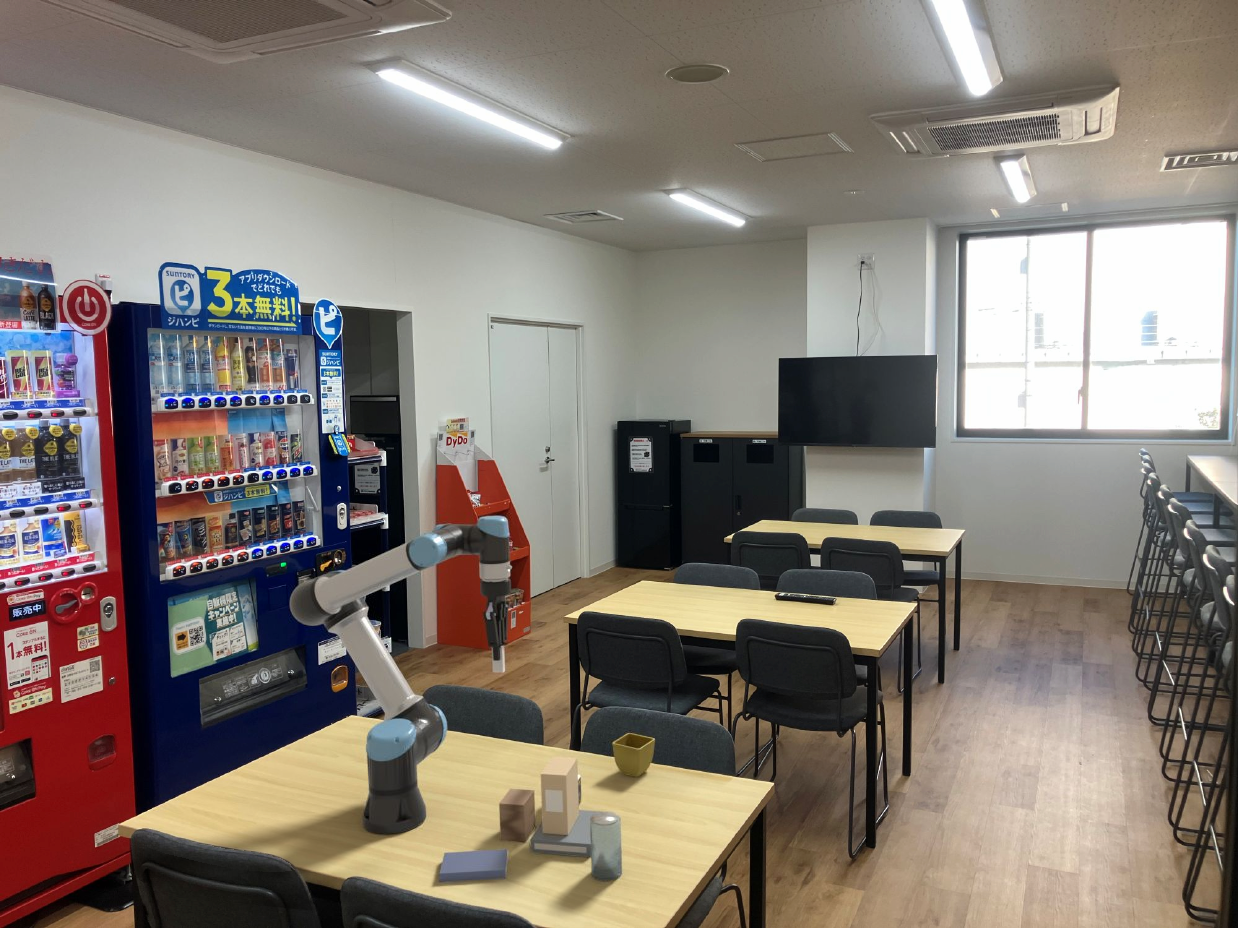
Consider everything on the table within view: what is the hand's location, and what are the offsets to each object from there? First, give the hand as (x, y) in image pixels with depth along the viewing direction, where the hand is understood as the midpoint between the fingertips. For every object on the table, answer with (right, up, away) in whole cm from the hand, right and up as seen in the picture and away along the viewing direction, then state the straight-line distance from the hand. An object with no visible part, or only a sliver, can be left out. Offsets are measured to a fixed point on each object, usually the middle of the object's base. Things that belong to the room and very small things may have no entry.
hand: (498, 671), depth 229 cm
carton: (+16, -32, -15) cm, 39 cm away
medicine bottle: (+16, -34, +1) cm, 38 cm away
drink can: (+27, -36, -32) cm, 55 cm away
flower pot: (+34, -32, +20) cm, 51 cm away
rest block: (+6, -35, -13) cm, 38 cm away
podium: (+19, -35, -15) cm, 43 cm away
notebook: (-2, -37, -28) cm, 47 cm away
